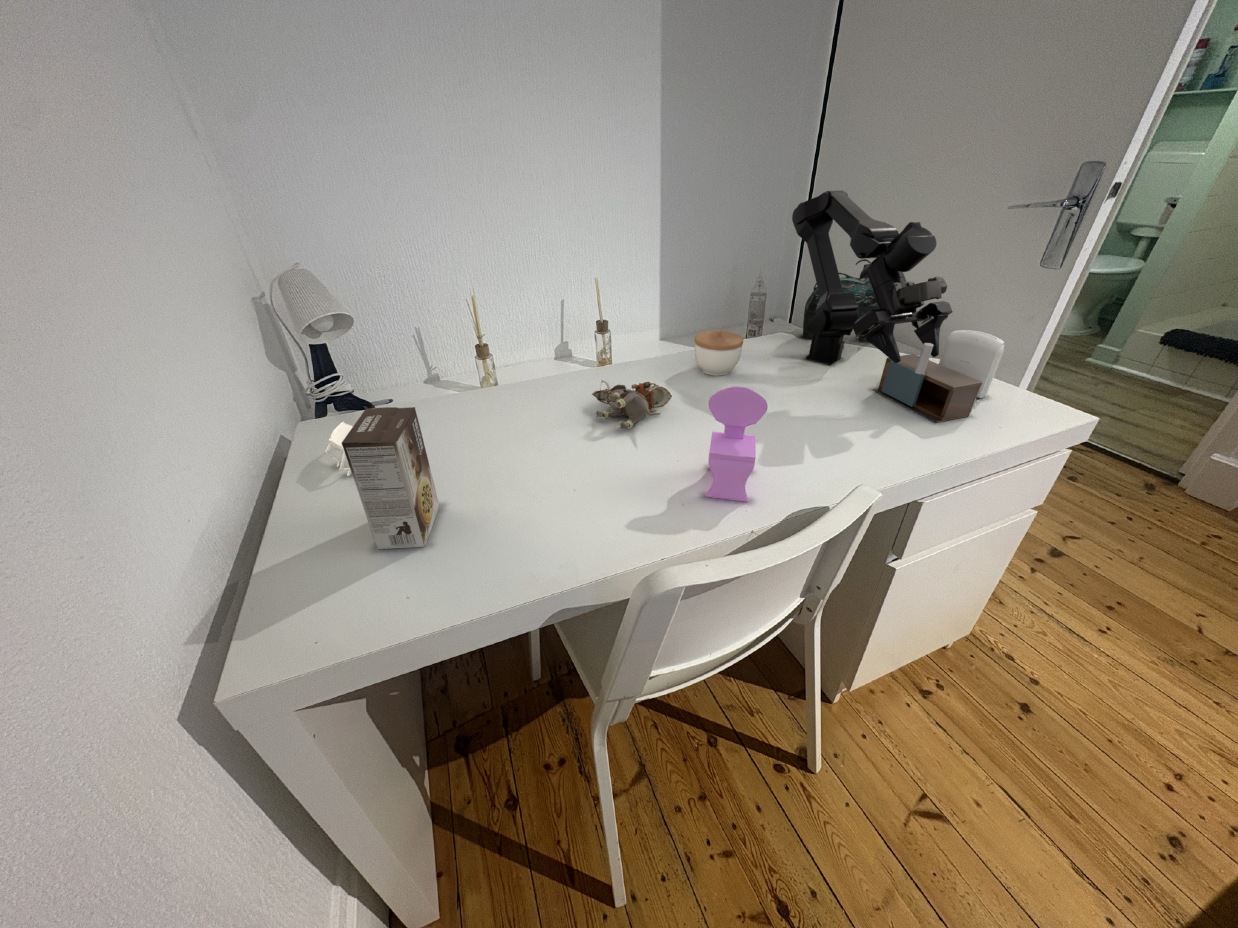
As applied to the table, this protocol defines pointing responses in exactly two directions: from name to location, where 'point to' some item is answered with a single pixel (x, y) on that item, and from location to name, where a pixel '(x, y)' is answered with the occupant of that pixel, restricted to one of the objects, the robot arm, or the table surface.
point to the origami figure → (339, 443)
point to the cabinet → (938, 391)
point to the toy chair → (733, 441)
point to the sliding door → (907, 378)
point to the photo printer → (973, 356)
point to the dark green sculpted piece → (849, 284)
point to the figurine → (632, 401)
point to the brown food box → (392, 476)
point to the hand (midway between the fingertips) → (917, 359)
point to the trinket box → (717, 351)
